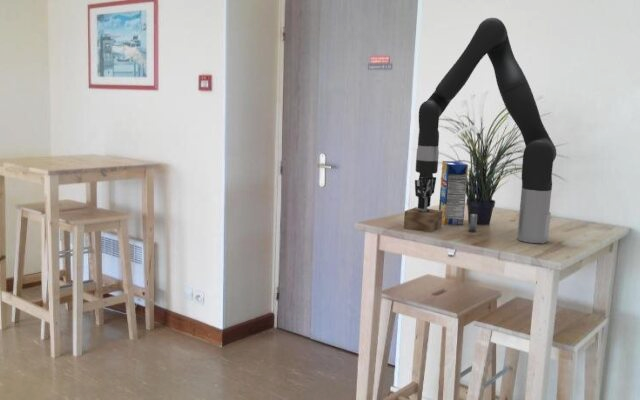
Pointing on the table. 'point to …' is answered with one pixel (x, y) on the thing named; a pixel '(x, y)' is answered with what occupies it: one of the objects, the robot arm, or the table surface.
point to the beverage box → (453, 192)
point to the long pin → (425, 205)
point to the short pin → (473, 223)
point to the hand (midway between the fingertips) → (423, 207)
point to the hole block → (423, 219)
